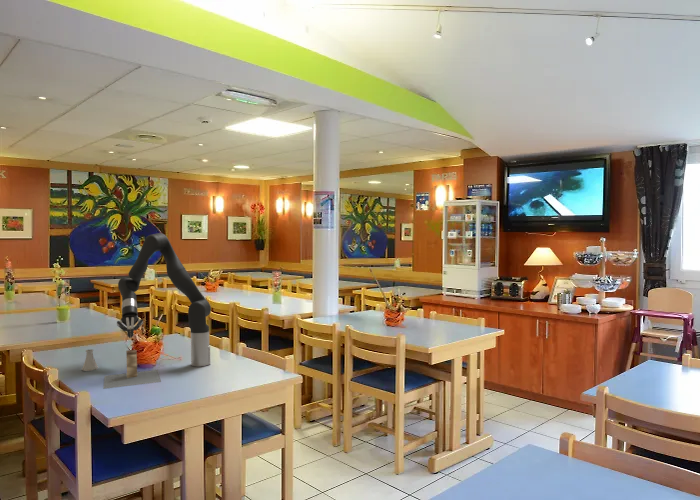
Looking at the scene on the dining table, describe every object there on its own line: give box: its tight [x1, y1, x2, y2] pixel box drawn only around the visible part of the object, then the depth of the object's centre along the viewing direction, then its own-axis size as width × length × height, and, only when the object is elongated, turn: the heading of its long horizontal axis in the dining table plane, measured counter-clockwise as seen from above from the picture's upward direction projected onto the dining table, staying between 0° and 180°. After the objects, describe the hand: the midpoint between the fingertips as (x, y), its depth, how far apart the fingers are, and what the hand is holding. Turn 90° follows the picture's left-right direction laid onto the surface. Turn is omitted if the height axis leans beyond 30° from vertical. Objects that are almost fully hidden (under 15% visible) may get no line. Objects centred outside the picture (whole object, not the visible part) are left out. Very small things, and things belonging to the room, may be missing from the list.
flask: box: [81, 349, 99, 372], centre depth 258 cm, size 7×7×10 cm
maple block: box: [125, 349, 138, 378], centre depth 245 cm, size 4×4×12 cm
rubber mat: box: [102, 369, 162, 390], centre depth 240 cm, size 24×22×1 cm
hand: (130, 336), depth 258 cm, fingers closed
